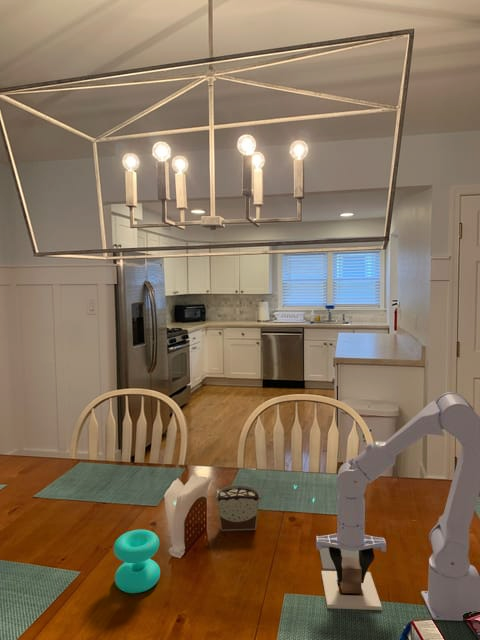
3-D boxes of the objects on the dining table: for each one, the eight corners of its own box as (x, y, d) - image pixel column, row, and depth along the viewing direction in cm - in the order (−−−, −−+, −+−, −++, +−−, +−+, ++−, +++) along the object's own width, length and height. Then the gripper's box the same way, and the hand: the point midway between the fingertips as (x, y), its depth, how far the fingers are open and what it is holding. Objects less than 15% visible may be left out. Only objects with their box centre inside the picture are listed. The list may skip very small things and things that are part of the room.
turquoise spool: (132, 558, 97) (104, 541, 103) (134, 603, 98) (105, 583, 104) (168, 537, 105) (140, 522, 111) (169, 578, 106) (141, 561, 112)
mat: (358, 546, 118) (358, 544, 118) (366, 571, 108) (366, 569, 108) (318, 544, 118) (318, 543, 118) (322, 569, 108) (322, 568, 108)
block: (357, 581, 103) (358, 557, 102) (361, 593, 99) (361, 569, 98) (339, 580, 103) (339, 557, 103) (342, 592, 99) (342, 568, 99)
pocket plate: (370, 575, 106) (370, 572, 106) (381, 610, 95) (381, 606, 95) (321, 573, 107) (321, 570, 107) (327, 608, 96) (327, 604, 96)
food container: (259, 517, 132) (259, 483, 131) (261, 529, 126) (261, 494, 125) (216, 518, 132) (215, 484, 131) (215, 530, 125) (215, 495, 124)
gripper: (380, 511, 103) (379, 569, 104) (314, 509, 104) (314, 567, 105) (389, 528, 96) (387, 590, 97) (318, 526, 97) (317, 588, 98)
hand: (350, 579), depth 101 cm, fingers closed on block, 4 cm apart
